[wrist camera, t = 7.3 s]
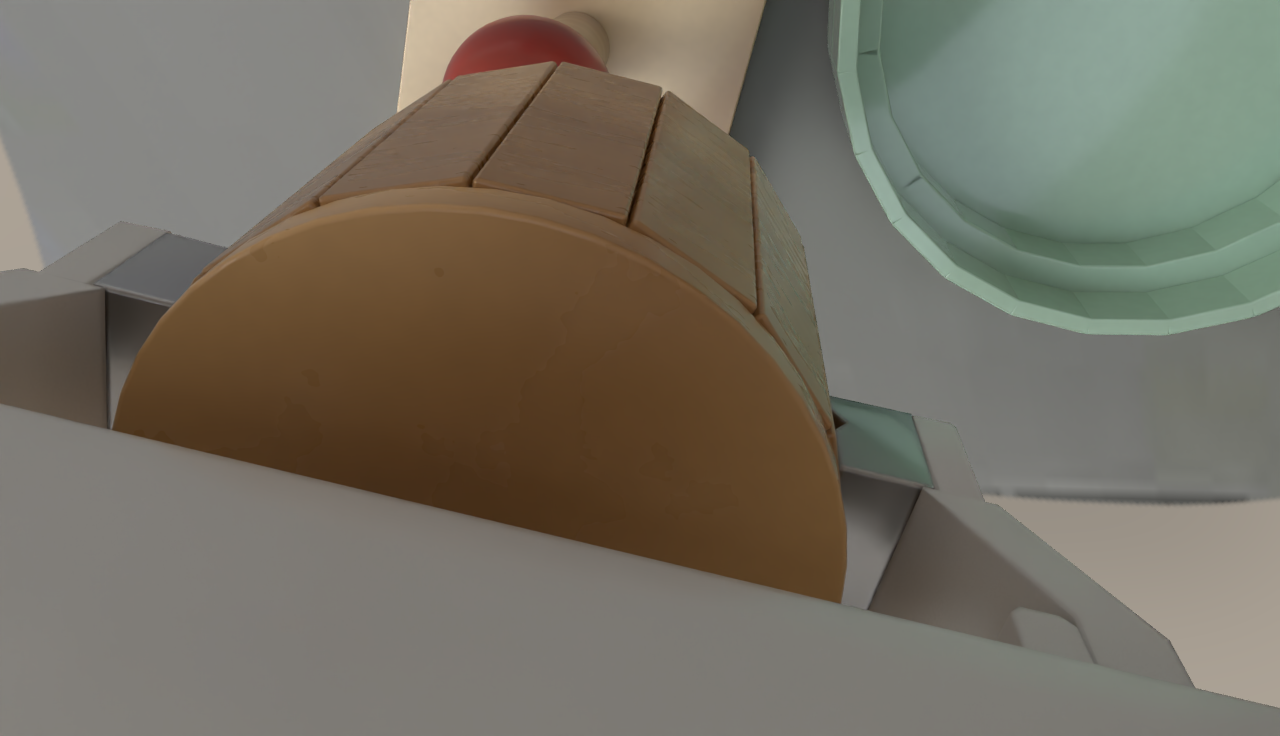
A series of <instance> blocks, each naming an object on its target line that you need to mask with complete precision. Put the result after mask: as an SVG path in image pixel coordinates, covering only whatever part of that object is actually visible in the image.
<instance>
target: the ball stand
mask: <svg viewBox="0 0 1280 736" xmlns="http://www.w3.org/2000/svg"><path fill="white" fill-rule="evenodd" d="M765 4H766V0H410V7H409V15H408V23H407V32H406V40H405V49H404V57H403V66H402V74H401V83H400V91H399V100H398V108H397V113H398V112H400V111H401V110H403V109H404V108H406V107H407V106H409V105H410V104H412V103H413V102H415V101H416V100H418V99H419V98H421V97H422V96H424V95H425V94H427V93H428V92H430V91H431V90H433V89H434V88H436V87H437V86H439V85H440V84H442V83H443V82H445V81H447V80H450V79H451V80H453V79H455V78H456V77H457V76H460V75H466V74H473V73H479V72H486V71H492V70H499V69H505V68H511V67H518V66H524V65H531V64H537V63H544V62H550V61H554V62H556V64H557V67H558V66H559V65H560V64H561V62H567V63H571V64H575V65H579V66H583V67H587V68H591V69H595V70H598V71H602V72H606V73H610V74H614V75H618V76H622V77H626V78H630V79H634V80H638V81H641V82H645V83H649V84H653V85H657V86H660V87H662V90H663V91H662V95H661V97H662V96H663V95H664V93H665V92H667V91H671V92H672V93H673V94H675V95H676V96H677V97H679V98H680V99H681V100H683V101H684V102H685V103H687V104H688V105H689V106H691V107H692V108H693V109H695V110H696V111H697V112H699V113H700V114H701V115H703V116H704V117H705V118H707V119H708V120H709V121H711V122H712V123H713V124H715V125H716V126H717V127H719V128H720V129H721V130H723V131H724V132H725V133H727V134H728V135H729V133H730V130H731V126H732V123H733V119H734V115H735V112H736V108H737V105H738V101H739V97H740V94H741V90H742V87H743V83H744V79H745V76H746V72H747V69H748V65H749V61H750V58H751V54H752V51H753V47H754V43H755V40H756V36H757V33H758V29H759V25H760V22H761V18H762V15H763V11H764V7H765Z"/></svg>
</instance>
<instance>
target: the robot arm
mask: <svg viewBox="0 0 1280 736" xmlns="http://www.w3.org/2000/svg"><path fill="white" fill-rule="evenodd" d="M226 249H227V248H226V247H222V246H218V245H215V244H211V243H207V242H203V241H200V240H196V239H192V238H188V237H184V236H181V235H177V234H172V233H171V232H170V231H166V230H161V229H156V228H152V227H147V226H142V225H137V224H132V223H128V222H123V221H120V222H119V223H117V224H115V225H114V226H112V227H111V228H109V229H107V230H106V231H104V232H102V233H101V234H99V235H98V236H96V237H94V238H93V239H91V240H90V241H88V242H86V243H85V244H83V245H81V246H80V247H78V248H77V249H75V250H73V251H72V252H70V253H69V254H67V255H65V256H64V257H62V258H61V259H59V260H57V261H56V262H54V263H52V264H51V265H49V266H48V267H46V268H44V269H43V270H41V271H40V272H37V271H34V270H29V269H24V268H23V269H15V270H7V271H0V736H1280V708H1277V707H1273V706H1269V705H1264V704H1260V703H1256V702H1251V701H1248V700H1243V699H1239V698H1234V697H1231V696H1227V695H1222V694H1218V693H1214V692H1209V691H1206V690H1201V689H1197V688H1195V687H1194V685H1193V683H1192V681H1191V679H1190V677H1189V675H1188V674H1187V672H1186V670H1185V668H1184V666H1183V664H1182V662H1181V661H1180V659H1179V657H1178V655H1177V653H1176V652H1175V650H1174V648H1173V646H1172V644H1171V642H1170V640H1168V639H1167V638H1166V637H1165V636H1163V635H1162V634H1161V633H1160V632H1158V631H1157V630H1156V629H1154V628H1153V627H1152V626H1151V625H1149V624H1148V623H1147V622H1146V621H1144V620H1143V619H1142V618H1141V617H1139V616H1138V615H1137V614H1135V613H1134V612H1133V611H1132V610H1130V609H1129V608H1128V607H1127V606H1125V605H1124V604H1123V603H1121V602H1120V601H1119V600H1118V599H1116V598H1115V597H1114V596H1112V595H1111V594H1110V593H1109V592H1108V591H1106V590H1105V589H1104V588H1103V587H1101V586H1100V585H1099V584H1098V583H1096V582H1095V581H1094V580H1092V579H1091V578H1090V577H1089V576H1087V575H1086V574H1085V573H1084V572H1082V571H1081V570H1080V569H1079V568H1077V567H1076V566H1075V565H1073V564H1072V563H1071V562H1070V561H1068V560H1067V559H1066V558H1065V557H1063V556H1062V555H1061V554H1060V553H1058V552H1057V551H1056V550H1055V549H1053V548H1052V547H1051V546H1049V545H1048V544H1047V543H1046V542H1044V541H1043V540H1042V539H1040V538H1039V537H1038V536H1037V535H1036V534H1034V533H1033V532H1032V531H1030V530H1029V529H1028V528H1027V527H1025V526H1024V525H1023V524H1021V523H1020V522H1019V521H1018V520H1017V519H1015V518H1014V517H1013V516H1011V515H1010V514H1009V513H1008V512H1006V511H1005V510H1004V509H1003V508H1001V507H1000V506H999V505H996V504H992V503H988V502H985V500H984V498H983V495H982V493H981V490H980V488H979V485H978V482H977V480H976V477H975V475H974V472H973V470H972V467H971V465H970V462H969V460H968V457H967V454H966V452H965V449H964V447H963V444H962V442H961V439H960V437H959V434H958V432H957V429H956V427H955V426H953V425H952V424H950V423H947V422H942V421H937V420H932V419H927V418H921V417H916V416H911V414H909V413H905V412H900V411H896V410H891V409H886V408H882V407H877V406H873V405H868V404H864V403H859V402H855V401H850V400H846V399H841V398H837V397H832V396H829V397H830V403H831V408H832V414H833V420H834V426H835V432H836V439H837V450H838V461H839V472H840V483H841V493H842V499H843V505H844V511H845V518H846V524H847V570H846V576H845V583H844V589H843V595H842V601H841V604H839V603H835V602H831V601H827V600H822V599H818V598H814V597H810V596H806V595H801V594H797V593H793V592H789V591H785V590H780V589H776V588H772V587H768V586H763V585H759V584H755V583H751V582H747V581H742V580H738V579H734V578H730V577H726V576H721V575H717V574H713V573H709V572H705V571H700V570H696V569H692V568H688V567H684V566H679V565H675V564H671V563H667V562H663V561H659V560H654V559H650V558H646V557H642V556H638V555H633V554H629V553H625V552H621V551H617V550H612V549H608V548H604V547H600V546H596V545H591V544H587V543H583V542H579V541H575V540H571V539H566V538H562V537H558V536H554V535H550V534H545V533H541V532H537V531H533V530H529V529H524V528H520V527H516V526H512V525H508V524H504V523H499V522H495V521H491V520H487V519H483V518H478V517H474V516H470V515H466V514H462V513H457V512H453V511H449V510H445V509H441V508H436V507H432V506H428V505H424V504H420V503H416V502H411V501H407V500H403V499H399V498H395V497H390V496H386V495H382V494H378V493H374V492H369V491H365V490H361V489H357V488H353V487H349V486H344V485H340V484H336V483H332V482H328V481H323V480H319V479H315V478H311V477H307V476H302V475H298V474H294V473H290V472H286V471H281V470H277V469H273V468H269V467H265V466H261V465H256V464H252V463H248V462H244V461H240V460H235V459H231V458H227V457H223V456H219V455H214V454H210V453H206V452H202V451H198V450H193V449H189V448H185V447H181V446H177V445H173V444H168V443H164V442H160V441H156V440H152V439H147V438H143V437H139V436H135V435H131V434H126V433H122V432H118V431H114V430H112V427H113V422H114V418H115V414H116V410H117V406H118V401H119V397H120V393H121V390H122V388H123V385H124V383H125V381H126V378H127V376H128V374H129V371H130V369H131V367H132V364H133V362H134V360H135V357H136V355H137V353H138V352H139V350H140V349H141V347H142V346H143V344H144V343H145V341H146V340H147V338H148V336H149V335H150V333H151V332H152V330H153V329H154V327H155V326H156V324H157V323H158V321H159V320H160V318H161V317H162V316H163V315H164V314H165V313H166V312H167V311H168V310H169V309H170V308H171V306H172V305H173V304H174V303H175V302H176V301H177V300H178V299H179V298H180V297H181V296H182V295H183V294H184V293H185V291H186V290H187V289H188V288H189V287H190V285H191V283H192V281H193V279H194V278H195V277H196V276H198V275H199V274H200V273H201V272H202V270H203V268H204V267H206V266H207V265H208V264H209V263H210V262H212V261H213V260H214V259H215V258H217V257H218V256H219V255H220V254H221V253H223V252H224V251H225V250H226Z"/></svg>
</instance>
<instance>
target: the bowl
mask: <svg viewBox="0 0 1280 736" xmlns="http://www.w3.org/2000/svg"><path fill="white" fill-rule="evenodd" d="M827 44H828V52H829V57H830V62H831V66H832V71H833V76H834V80H835V85H836V90H837V94H838V99H839V104H840V108H841V113H842V117H843V120H844V123H845V127H846V130H847V133H848V136H849V139H850V142H851V146H852V149H853V152H854V154H855V157H856V159H857V161H858V163H859V165H860V167H861V169H862V170H863V172H864V174H865V176H866V178H867V180H868V182H869V184H870V185H871V187H872V189H873V191H874V193H875V195H876V197H877V199H878V200H879V202H880V204H881V206H882V208H883V210H884V212H885V214H886V215H887V217H888V219H889V221H890V223H892V225H893V227H894V228H895V229H896V230H897V231H898V232H899V233H900V234H901V235H902V236H903V237H904V238H905V239H906V240H907V241H908V242H909V243H910V244H911V245H912V246H913V247H914V248H915V249H916V250H917V251H918V252H919V253H920V254H921V255H922V256H923V257H924V258H925V259H926V260H927V261H928V262H929V263H930V264H931V265H932V266H933V267H934V268H935V269H936V270H937V271H938V272H939V273H940V274H941V275H942V276H943V277H945V278H946V279H947V280H949V281H951V282H952V283H954V284H956V285H958V286H960V287H961V288H963V289H965V290H967V291H968V292H970V293H972V294H974V295H976V296H977V297H979V298H981V299H983V300H984V301H986V302H988V303H990V304H992V305H993V306H995V307H997V308H999V309H1001V310H1002V311H1004V312H1006V313H1008V314H1011V315H1012V316H1016V317H1020V318H1024V319H1028V320H1032V321H1036V322H1040V323H1044V324H1047V325H1051V326H1055V327H1059V328H1063V329H1067V330H1071V331H1075V332H1079V333H1083V334H1098V335H1168V334H1169V335H1172V334H1176V333H1181V332H1186V331H1191V330H1196V329H1200V328H1205V327H1210V326H1215V325H1219V324H1224V323H1229V322H1234V321H1239V320H1243V319H1248V318H1252V317H1253V316H1258V315H1261V314H1263V313H1265V312H1268V311H1270V310H1272V309H1275V308H1277V307H1279V306H1280V0H829V14H828V34H827Z"/></svg>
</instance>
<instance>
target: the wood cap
mask: <svg viewBox="0 0 1280 736" xmlns="http://www.w3.org/2000/svg"><path fill="white" fill-rule="evenodd" d="M662 91H663V90H662V87H660V86H657V85H653V84H649V83H645V82H641V81H638V80H634V79H630V78H626V77H622V76H618V75H614V74H610V73H606V72H602V71H598V70H595V69H591V68H587V67H583V66H579V65H575V64H571V63H567V62H561V64H560V65H559V66H558V67H557V64H556V62H554V61H550V62H544V63H537V64H531V65H524V66H518V67H511V68H505V69H499V70H492V71H486V72H479V73H473V74H466V75H460V76H457V77H456V78H455V79H453V80H451V79H450V80H447V81H445V82H443V83H442V84H440V85H439V86H437V87H436V88H434V89H433V90H431V91H430V92H428V93H427V94H425V95H424V96H422V97H421V98H419V99H418V100H416V101H415V102H413V103H412V104H410V105H409V106H407V107H406V108H404V109H403V110H401V111H400V112H398V113H397V114H395V115H393V116H392V117H390V118H389V119H387V120H386V121H384V122H383V123H381V124H380V125H378V126H377V127H375V128H374V129H372V130H371V131H370V132H369V133H368V134H366V135H365V136H364V137H363V138H362V139H360V140H359V141H358V142H357V143H355V144H354V145H353V146H352V147H351V148H349V149H348V150H347V151H346V152H344V153H343V154H342V155H341V156H340V157H338V158H337V159H336V160H335V161H333V162H332V163H331V164H330V165H329V166H327V167H326V168H325V169H324V170H323V171H321V172H320V173H319V174H318V175H316V176H315V177H314V178H313V179H312V180H310V181H309V182H308V183H307V184H305V185H304V186H303V187H302V188H301V189H299V190H298V191H297V192H296V193H294V194H293V195H292V196H291V197H290V198H288V199H287V200H286V201H285V202H284V203H282V204H281V205H280V206H279V207H277V208H276V209H275V210H274V211H273V212H271V213H270V214H269V215H268V216H266V217H265V218H264V219H263V220H262V221H260V222H259V223H258V224H257V225H256V226H254V227H253V228H252V229H251V230H249V231H248V232H247V233H246V234H245V235H243V236H242V237H241V238H240V239H238V240H237V241H236V242H235V243H234V244H232V245H231V246H230V247H229V248H227V249H226V250H225V251H224V252H223V253H221V254H220V255H219V256H218V257H217V258H215V259H214V260H213V261H212V262H210V263H209V264H208V265H207V266H206V267H204V268H203V270H202V272H201V273H200V274H199V275H198V276H196V277H195V278H194V279H193V281H192V283H191V285H190V287H189V288H188V289H187V290H186V291H185V293H184V294H183V295H182V296H181V297H180V298H179V299H178V300H177V301H176V302H175V303H174V304H173V305H172V306H171V308H170V309H169V310H168V311H167V312H166V313H165V314H164V315H163V316H162V317H161V318H160V320H159V321H158V323H157V324H156V326H155V327H154V329H153V330H152V332H151V333H150V335H149V336H148V338H147V340H146V341H145V343H144V344H143V346H142V347H141V349H140V350H139V352H138V353H137V355H136V357H135V360H134V362H133V364H132V367H131V369H130V371H129V374H128V376H127V378H126V381H125V383H124V385H123V388H122V390H121V393H120V397H119V401H118V406H117V410H116V414H115V418H114V422H113V427H112V430H114V431H118V432H122V433H126V434H131V435H135V436H139V437H143V438H147V439H152V440H156V441H160V442H164V443H168V444H173V445H177V446H181V447H185V448H189V449H193V450H198V451H202V452H206V453H210V454H214V455H219V456H223V457H227V458H231V459H235V460H240V461H244V462H248V463H252V464H256V465H261V466H265V467H269V468H273V469H277V470H281V471H286V472H290V473H294V474H298V475H302V476H307V477H311V478H315V479H319V480H323V481H328V482H332V483H336V484H340V485H344V486H349V487H353V488H357V489H361V490H365V491H369V492H374V493H378V494H382V495H386V496H390V497H395V498H399V499H403V500H407V501H411V502H416V503H420V504H424V505H428V506H432V507H436V508H441V509H445V510H449V511H453V512H457V513H462V514H466V515H470V516H474V517H478V518H483V519H487V520H491V521H495V522H499V523H504V524H508V525H512V526H516V527H520V528H524V529H529V530H533V531H537V532H541V533H545V534H550V535H554V536H558V537H562V538H566V539H571V540H575V541H579V542H583V543H587V544H591V545H596V546H600V547H604V548H608V549H612V550H617V551H621V552H625V553H629V554H633V555H638V556H642V557H646V558H650V559H654V560H659V561H663V562H667V563H671V564H675V565H679V566H684V567H688V568H692V569H696V570H700V571H705V572H709V573H713V574H717V575H721V576H726V577H730V578H734V579H738V580H742V581H747V582H751V583H755V584H759V585H763V586H768V587H772V588H776V589H780V590H785V591H789V592H793V593H797V594H801V595H806V596H810V597H814V598H818V599H822V600H827V601H831V602H835V603H839V604H841V601H842V595H843V589H844V583H845V576H846V570H847V524H846V518H845V511H844V505H843V499H842V493H841V483H840V472H839V461H838V450H837V439H836V432H835V426H834V420H833V414H832V408H831V403H830V397H829V391H828V385H827V379H826V374H825V368H824V362H823V356H822V350H821V344H820V339H819V333H818V327H817V321H816V315H815V310H814V304H813V298H812V292H811V286H810V281H809V275H808V269H807V263H806V257H805V252H804V246H803V245H802V243H801V237H800V235H799V233H798V231H797V230H796V228H795V226H794V224H793V223H792V221H791V219H790V217H789V216H788V214H787V212H786V210H785V209H784V207H783V205H782V203H781V202H780V200H779V198H778V196H777V195H776V193H775V191H774V189H773V188H772V186H771V184H770V183H769V181H768V179H767V177H766V176H765V174H764V172H763V170H762V169H761V167H760V165H759V163H758V162H757V160H756V158H755V157H753V156H752V157H749V151H748V149H747V148H745V147H744V146H743V145H741V144H740V143H739V142H737V141H736V140H735V139H733V138H732V137H731V136H729V135H728V134H727V133H725V132H724V131H723V130H721V129H720V128H719V127H717V126H716V125H715V124H713V123H712V122H711V121H709V120H708V119H707V118H705V117H704V116H703V115H701V114H700V113H699V112H697V111H696V110H695V109H693V108H692V107H691V106H689V105H688V104H687V103H685V102H684V101H683V100H681V99H680V98H679V97H677V96H676V95H675V94H673V93H672V92H671V91H667V92H665V93H664V95H663V96H662V97H661V95H662Z"/></svg>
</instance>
